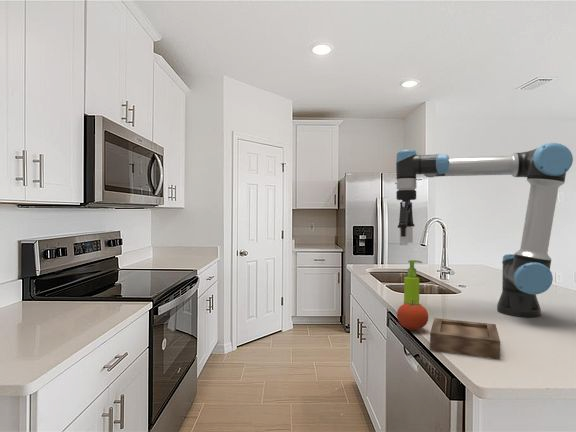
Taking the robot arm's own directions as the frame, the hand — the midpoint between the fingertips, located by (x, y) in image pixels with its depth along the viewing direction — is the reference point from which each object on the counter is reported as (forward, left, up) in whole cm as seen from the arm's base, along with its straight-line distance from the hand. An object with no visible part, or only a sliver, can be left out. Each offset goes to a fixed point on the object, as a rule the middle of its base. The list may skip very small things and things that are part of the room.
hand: (406, 243), depth 161 cm
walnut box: (-21, +33, -27) cm, 48 cm away
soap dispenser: (-2, -6, -27) cm, 28 cm away
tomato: (-5, +23, -27) cm, 36 cm away
